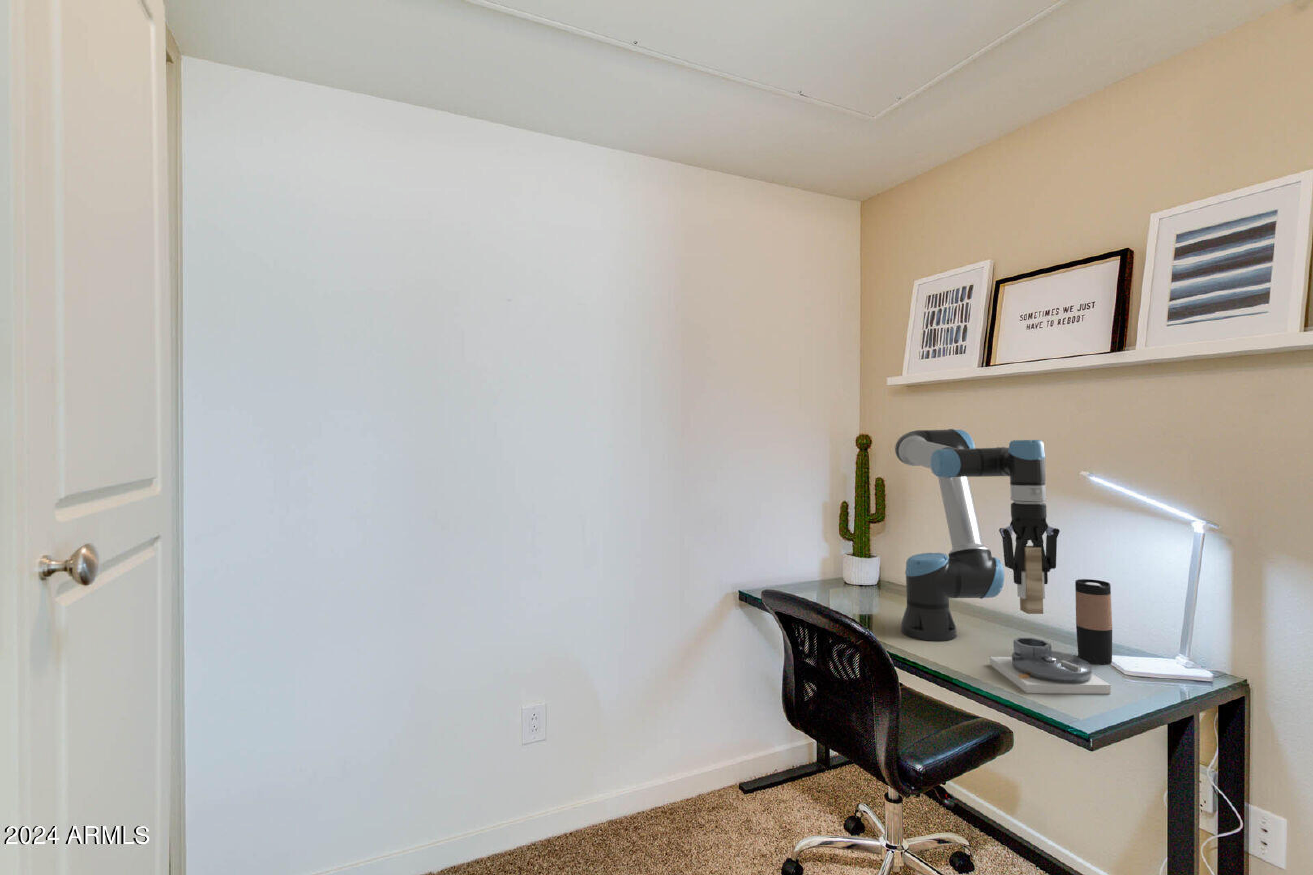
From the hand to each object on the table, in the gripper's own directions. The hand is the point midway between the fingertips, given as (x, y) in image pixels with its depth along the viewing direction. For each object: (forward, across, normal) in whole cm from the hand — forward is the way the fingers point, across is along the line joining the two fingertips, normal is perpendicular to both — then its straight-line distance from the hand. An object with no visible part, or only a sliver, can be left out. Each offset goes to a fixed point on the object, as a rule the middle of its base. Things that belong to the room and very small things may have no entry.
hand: (1031, 597), depth 151 cm
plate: (+18, +1, -4) cm, 19 cm away
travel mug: (+19, +20, +10) cm, 29 cm away
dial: (+16, +2, -4) cm, 17 cm away
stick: (+4, 0, 0) cm, 4 cm away
